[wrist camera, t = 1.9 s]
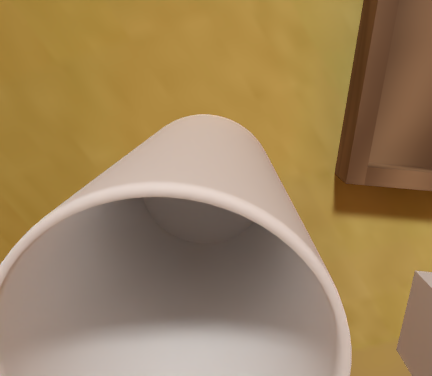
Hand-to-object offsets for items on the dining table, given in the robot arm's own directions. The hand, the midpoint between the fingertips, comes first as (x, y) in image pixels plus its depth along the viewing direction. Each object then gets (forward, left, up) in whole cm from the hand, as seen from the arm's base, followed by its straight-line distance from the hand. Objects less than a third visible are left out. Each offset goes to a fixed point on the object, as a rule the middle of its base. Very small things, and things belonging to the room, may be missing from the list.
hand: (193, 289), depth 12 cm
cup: (0, 0, -13) cm, 13 cm away
